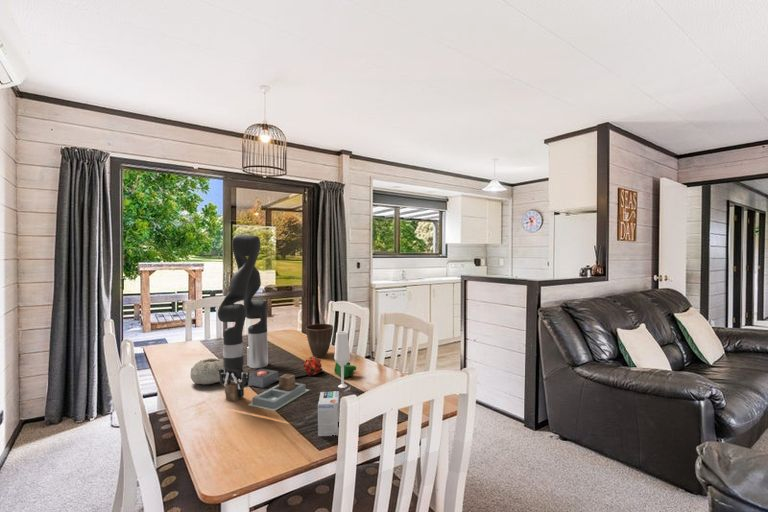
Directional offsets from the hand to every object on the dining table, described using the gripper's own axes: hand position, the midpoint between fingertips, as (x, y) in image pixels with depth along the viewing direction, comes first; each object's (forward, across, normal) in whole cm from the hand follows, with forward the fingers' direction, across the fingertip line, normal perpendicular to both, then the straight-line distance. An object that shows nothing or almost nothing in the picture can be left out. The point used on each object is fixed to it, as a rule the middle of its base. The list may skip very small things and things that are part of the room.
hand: (234, 396), depth 157 cm
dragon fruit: (+2, +11, +38) cm, 40 cm away
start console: (+2, -2, +18) cm, 18 cm away
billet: (+1, +16, +12) cm, 20 cm away
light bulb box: (+2, +47, -5) cm, 47 cm away
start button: (0, -2, +18) cm, 18 cm away
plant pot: (+2, -3, +65) cm, 65 cm away
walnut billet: (+2, 0, 0) cm, 2 cm away
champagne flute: (+2, +33, +28) cm, 43 cm away
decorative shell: (+2, -25, +12) cm, 28 cm away
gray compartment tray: (+2, +16, +8) cm, 18 cm away
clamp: (+2, +26, +43) cm, 50 cm away
